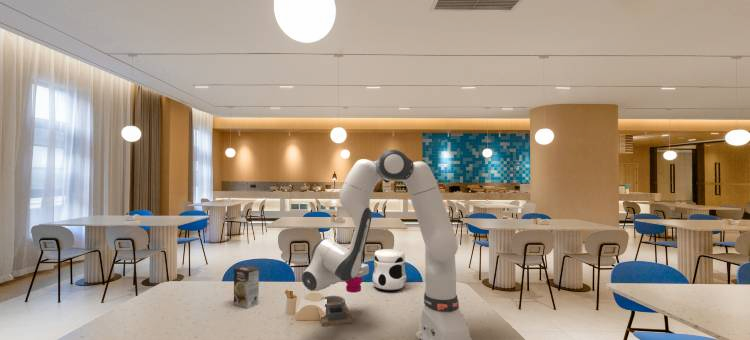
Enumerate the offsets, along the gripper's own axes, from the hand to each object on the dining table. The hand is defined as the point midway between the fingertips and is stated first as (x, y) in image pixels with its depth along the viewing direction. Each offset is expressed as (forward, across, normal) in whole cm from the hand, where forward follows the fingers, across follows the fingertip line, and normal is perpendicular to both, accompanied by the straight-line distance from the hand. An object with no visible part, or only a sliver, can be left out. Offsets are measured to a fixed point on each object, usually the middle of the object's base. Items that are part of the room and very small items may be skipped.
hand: (354, 262), depth 141 cm
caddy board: (-6, +6, +20) cm, 22 cm away
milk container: (+34, 0, +20) cm, 39 cm away
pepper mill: (-1, 0, +12) cm, 12 cm away
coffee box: (-18, +45, +21) cm, 53 cm away
